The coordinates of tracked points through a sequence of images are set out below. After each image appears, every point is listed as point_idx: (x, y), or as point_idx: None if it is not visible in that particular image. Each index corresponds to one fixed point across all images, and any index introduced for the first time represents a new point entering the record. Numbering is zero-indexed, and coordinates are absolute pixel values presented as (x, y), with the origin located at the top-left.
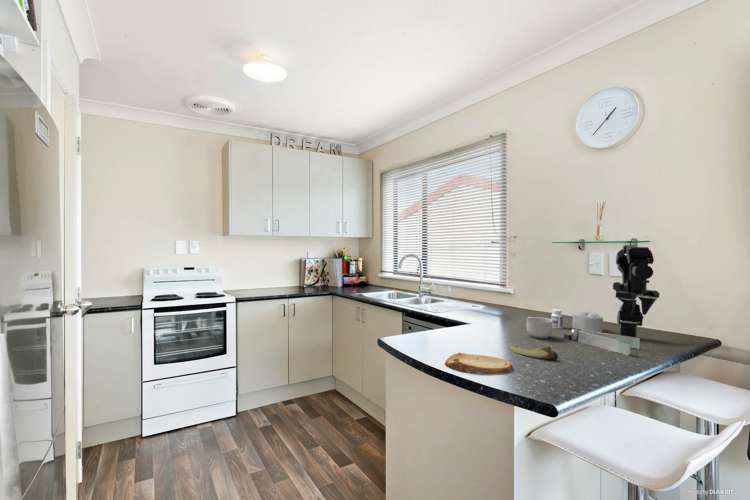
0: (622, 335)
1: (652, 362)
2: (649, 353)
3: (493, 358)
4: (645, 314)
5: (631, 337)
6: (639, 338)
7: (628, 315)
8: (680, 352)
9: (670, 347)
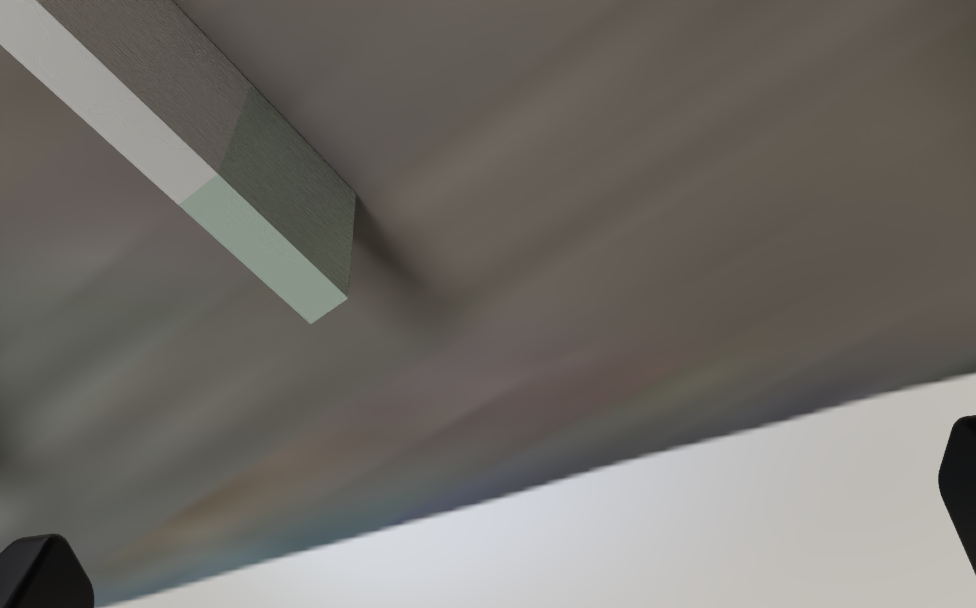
0: (121, 81)
1: None
2: (299, 371)
3: None
4: (947, 496)
5: (217, 232)
6: (310, 320)
7: (19, 560)
8: (775, 391)
9: (959, 204)
